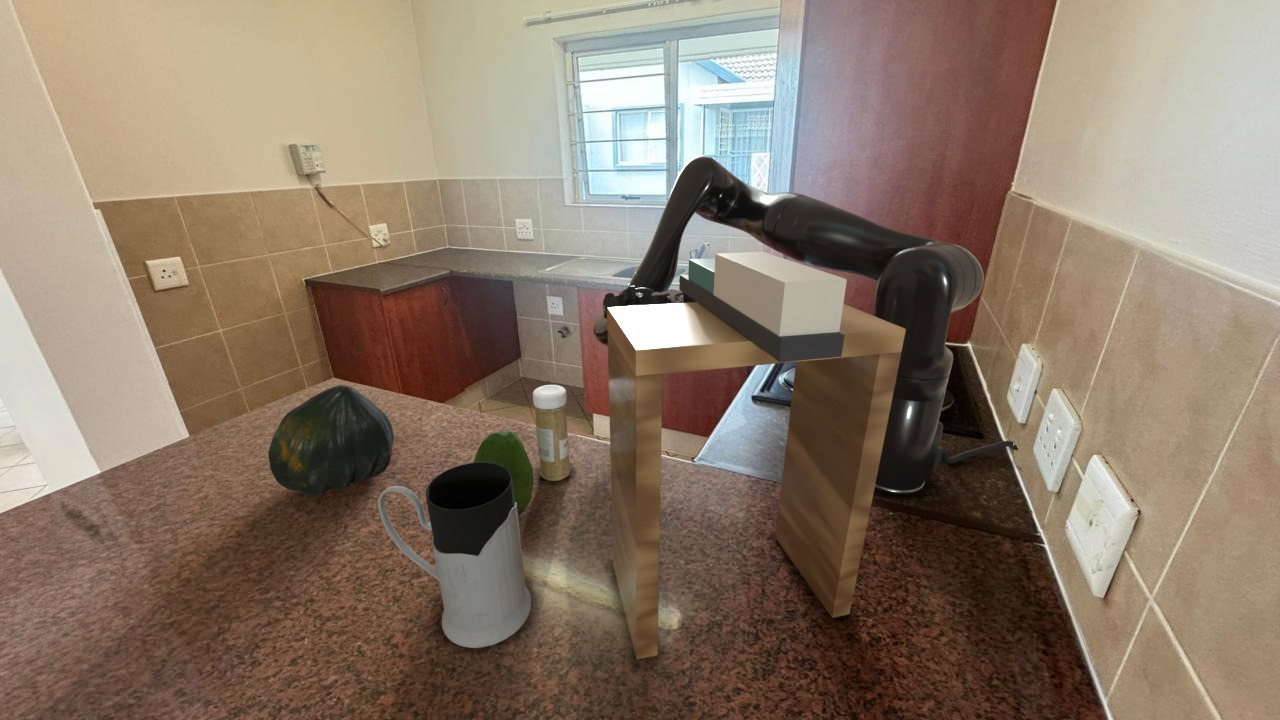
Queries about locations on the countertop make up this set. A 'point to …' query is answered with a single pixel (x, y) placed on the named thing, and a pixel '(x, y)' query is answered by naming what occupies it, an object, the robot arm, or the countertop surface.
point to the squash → (331, 442)
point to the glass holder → (472, 551)
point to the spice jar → (552, 431)
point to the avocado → (509, 463)
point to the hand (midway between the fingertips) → (664, 291)
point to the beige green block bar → (771, 302)
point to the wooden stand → (814, 458)
